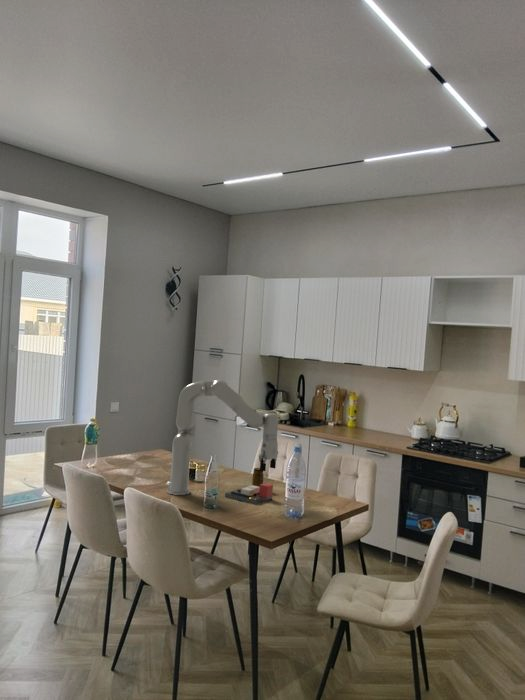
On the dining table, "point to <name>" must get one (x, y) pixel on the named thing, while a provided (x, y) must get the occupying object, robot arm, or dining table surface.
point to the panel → (246, 497)
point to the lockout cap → (265, 490)
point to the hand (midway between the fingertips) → (267, 469)
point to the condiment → (257, 477)
